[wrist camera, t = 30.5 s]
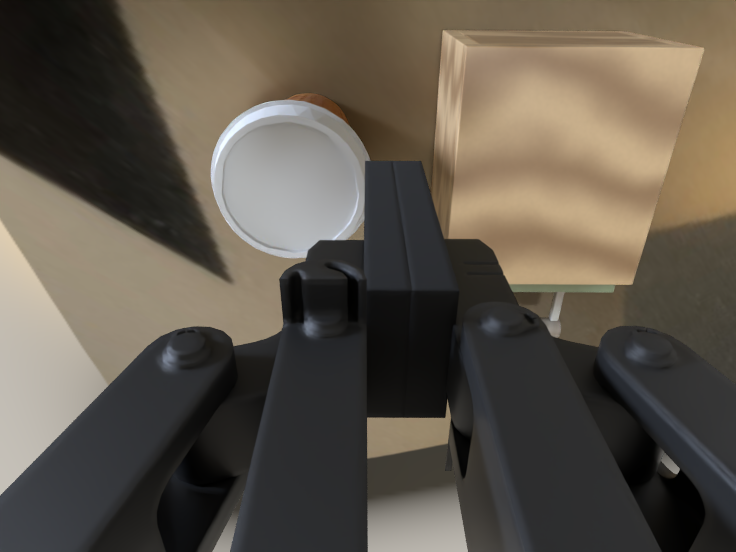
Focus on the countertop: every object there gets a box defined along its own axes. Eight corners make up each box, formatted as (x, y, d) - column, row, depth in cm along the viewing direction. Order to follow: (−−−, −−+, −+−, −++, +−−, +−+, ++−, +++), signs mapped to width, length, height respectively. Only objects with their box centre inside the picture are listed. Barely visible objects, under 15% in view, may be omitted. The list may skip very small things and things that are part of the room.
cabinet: (580, 225, 43) (632, 285, 35) (428, 224, 43) (443, 284, 35) (625, 31, 36) (705, 47, 28) (442, 29, 36) (466, 46, 27)
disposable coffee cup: (380, 184, 42) (384, 253, 31) (265, 201, 42) (232, 274, 32) (361, 59, 37) (359, 91, 26) (232, 80, 38) (181, 120, 27)
